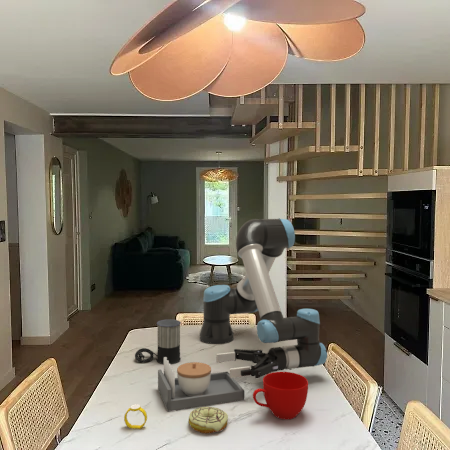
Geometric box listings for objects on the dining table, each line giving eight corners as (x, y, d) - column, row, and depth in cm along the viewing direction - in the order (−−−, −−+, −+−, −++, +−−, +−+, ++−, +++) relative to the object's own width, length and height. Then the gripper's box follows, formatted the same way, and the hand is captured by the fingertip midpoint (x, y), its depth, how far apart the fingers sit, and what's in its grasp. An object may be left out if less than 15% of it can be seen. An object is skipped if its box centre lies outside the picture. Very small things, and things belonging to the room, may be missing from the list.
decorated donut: (225, 437, 115) (225, 423, 115) (185, 434, 116) (185, 421, 116) (229, 418, 125) (229, 405, 125) (192, 415, 127) (192, 402, 126)
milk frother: (185, 361, 169) (185, 323, 168) (148, 370, 159) (148, 330, 158) (166, 351, 180) (166, 315, 179) (131, 359, 170) (130, 321, 169)
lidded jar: (206, 401, 133) (206, 371, 132) (172, 398, 135) (172, 368, 134) (214, 386, 143) (214, 358, 143) (182, 383, 145) (182, 356, 145)
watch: (124, 430, 118) (122, 409, 118) (126, 425, 121) (125, 404, 121) (146, 430, 118) (144, 408, 118) (148, 424, 121) (146, 403, 120)
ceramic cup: (242, 411, 129) (242, 377, 129) (291, 400, 136) (292, 368, 136) (264, 432, 117) (264, 395, 117) (316, 419, 124) (317, 385, 124)
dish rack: (158, 389, 144) (157, 356, 143) (227, 380, 151) (227, 348, 151) (167, 411, 128) (167, 374, 128) (244, 400, 136) (244, 365, 136)
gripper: (300, 383, 137) (236, 393, 130) (267, 356, 161) (211, 363, 154) (300, 360, 137) (236, 368, 130) (267, 336, 160) (211, 342, 153)
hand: (222, 365), depth 142 cm, fingers open, 13 cm apart
